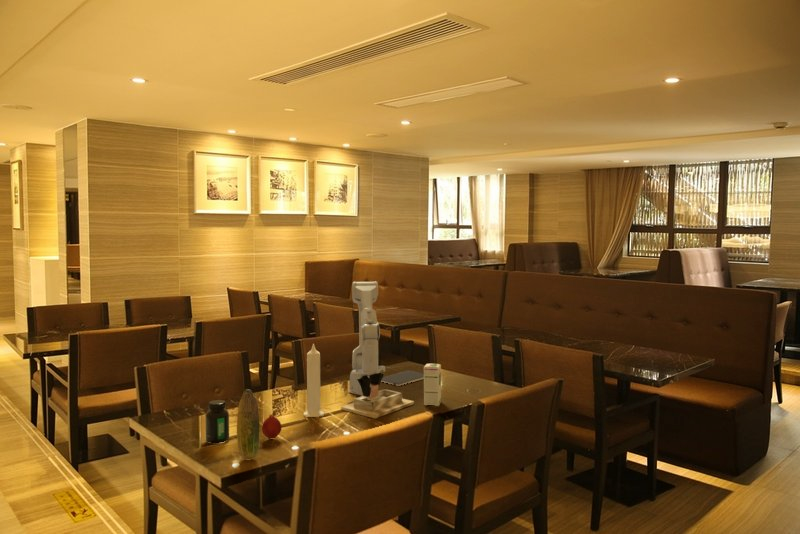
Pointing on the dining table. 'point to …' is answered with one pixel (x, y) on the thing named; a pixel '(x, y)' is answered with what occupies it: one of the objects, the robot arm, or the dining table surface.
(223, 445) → the dining table surface
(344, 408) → the holder
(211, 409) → the supplement bottle
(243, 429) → the vegetable
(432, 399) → the syrup box
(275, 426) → the onion
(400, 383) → the notebook
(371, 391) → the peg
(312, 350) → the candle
